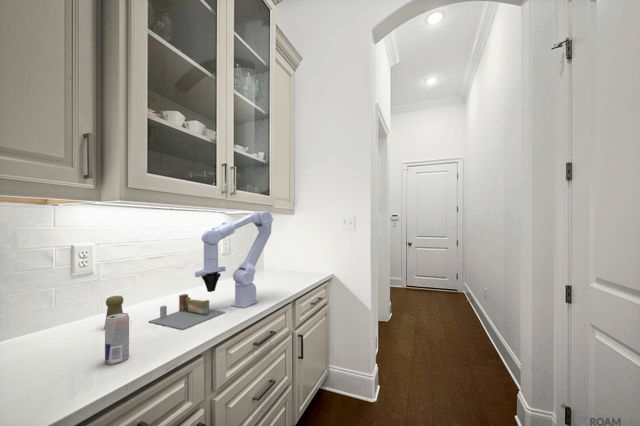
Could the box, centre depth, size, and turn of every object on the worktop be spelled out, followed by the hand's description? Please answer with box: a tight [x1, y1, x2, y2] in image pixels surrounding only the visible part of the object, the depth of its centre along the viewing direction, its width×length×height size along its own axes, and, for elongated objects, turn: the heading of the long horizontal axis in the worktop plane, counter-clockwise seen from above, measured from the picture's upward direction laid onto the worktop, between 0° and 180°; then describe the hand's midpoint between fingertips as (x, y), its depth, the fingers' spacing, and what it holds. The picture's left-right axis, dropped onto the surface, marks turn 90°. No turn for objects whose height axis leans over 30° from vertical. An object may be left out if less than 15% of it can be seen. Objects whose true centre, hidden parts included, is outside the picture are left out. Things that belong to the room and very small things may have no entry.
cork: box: [103, 295, 124, 330], centre depth 101 cm, size 6×6×11 cm
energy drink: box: [104, 312, 130, 365], centre depth 77 cm, size 5×5×12 cm
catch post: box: [159, 305, 168, 319], centre depth 109 cm, size 2×2×5 cm
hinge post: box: [178, 293, 189, 312], centre depth 117 cm, size 2×2×7 cm
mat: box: [148, 308, 226, 331], centre depth 110 cm, size 20×19×1 cm
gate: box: [185, 296, 210, 314], centre depth 114 cm, size 2×12×5 cm, turn 64°
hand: (211, 291), depth 117 cm, fingers closed
